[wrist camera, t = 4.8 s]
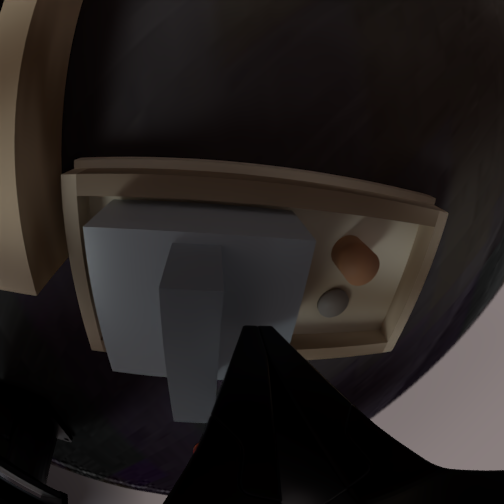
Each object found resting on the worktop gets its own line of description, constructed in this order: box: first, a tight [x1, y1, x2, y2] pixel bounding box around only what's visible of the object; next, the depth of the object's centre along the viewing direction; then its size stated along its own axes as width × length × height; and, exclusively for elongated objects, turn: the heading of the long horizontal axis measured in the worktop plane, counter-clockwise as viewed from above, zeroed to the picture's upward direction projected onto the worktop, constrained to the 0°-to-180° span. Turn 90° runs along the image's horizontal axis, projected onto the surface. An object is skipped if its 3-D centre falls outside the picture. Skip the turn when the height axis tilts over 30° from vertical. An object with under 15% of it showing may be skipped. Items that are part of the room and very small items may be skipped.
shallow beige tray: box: [61, 157, 448, 360], centre depth 10 cm, size 8×14×2 cm, turn 83°
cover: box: [83, 199, 316, 423], centre depth 8 cm, size 5×6×4 cm
